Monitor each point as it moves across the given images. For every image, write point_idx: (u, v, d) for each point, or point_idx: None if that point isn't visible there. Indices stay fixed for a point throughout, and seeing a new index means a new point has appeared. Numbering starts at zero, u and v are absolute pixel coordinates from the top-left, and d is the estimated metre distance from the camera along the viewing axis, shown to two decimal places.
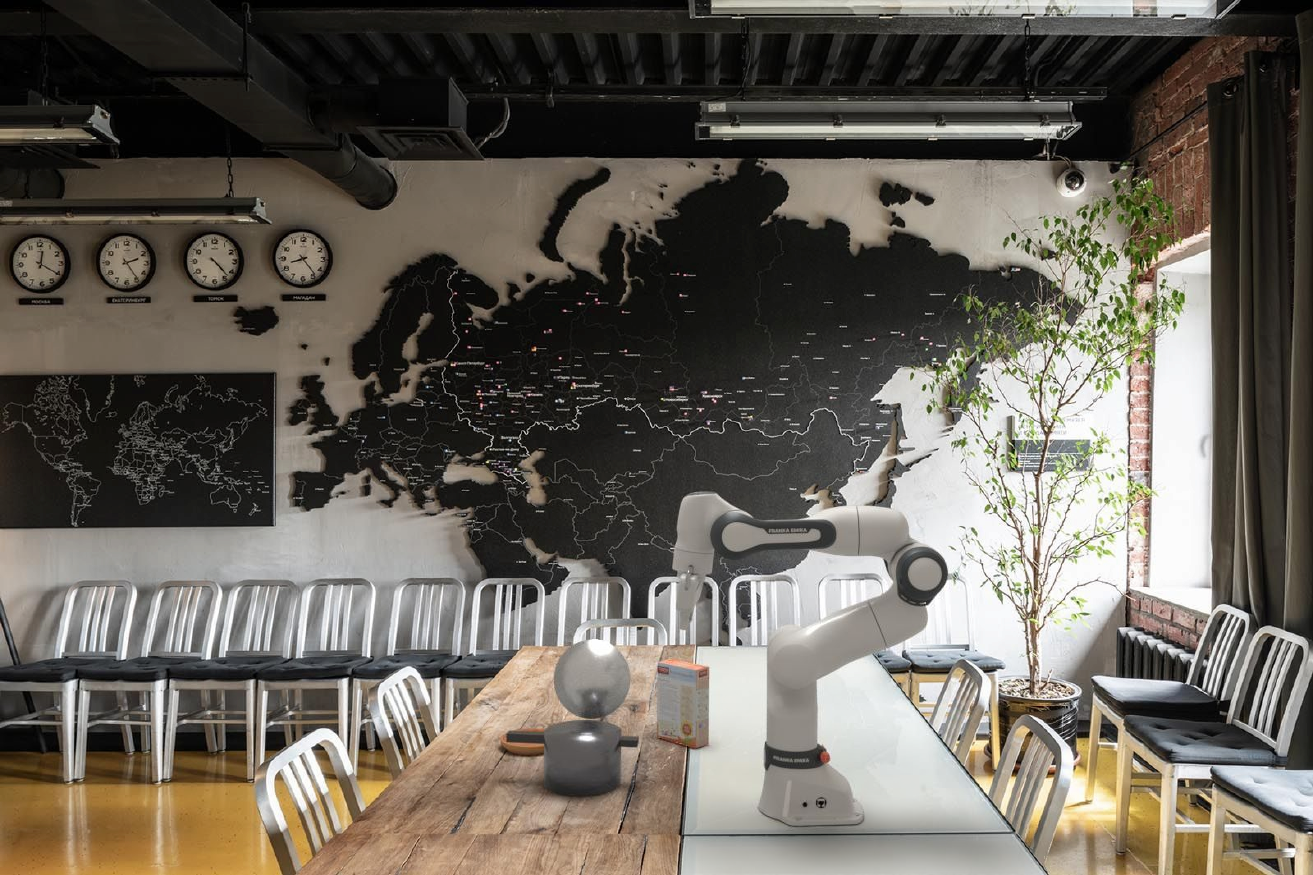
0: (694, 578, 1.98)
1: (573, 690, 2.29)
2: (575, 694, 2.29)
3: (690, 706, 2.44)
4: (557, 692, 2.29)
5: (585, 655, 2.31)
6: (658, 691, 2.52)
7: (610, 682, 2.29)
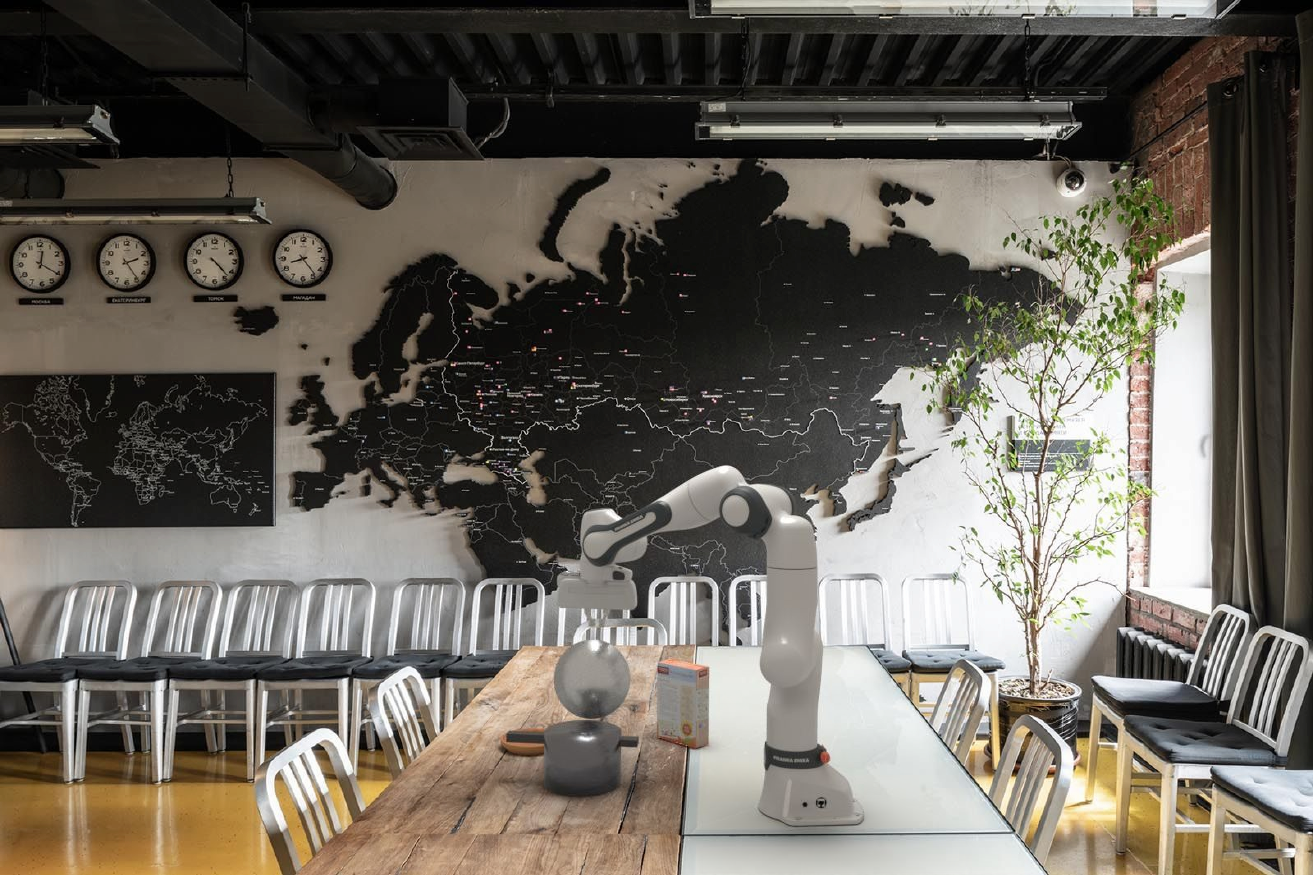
0: (563, 579, 2.36)
1: (573, 690, 2.29)
2: (575, 694, 2.29)
3: (690, 706, 2.44)
4: (557, 692, 2.29)
5: (585, 655, 2.31)
6: (658, 691, 2.52)
7: (610, 682, 2.29)
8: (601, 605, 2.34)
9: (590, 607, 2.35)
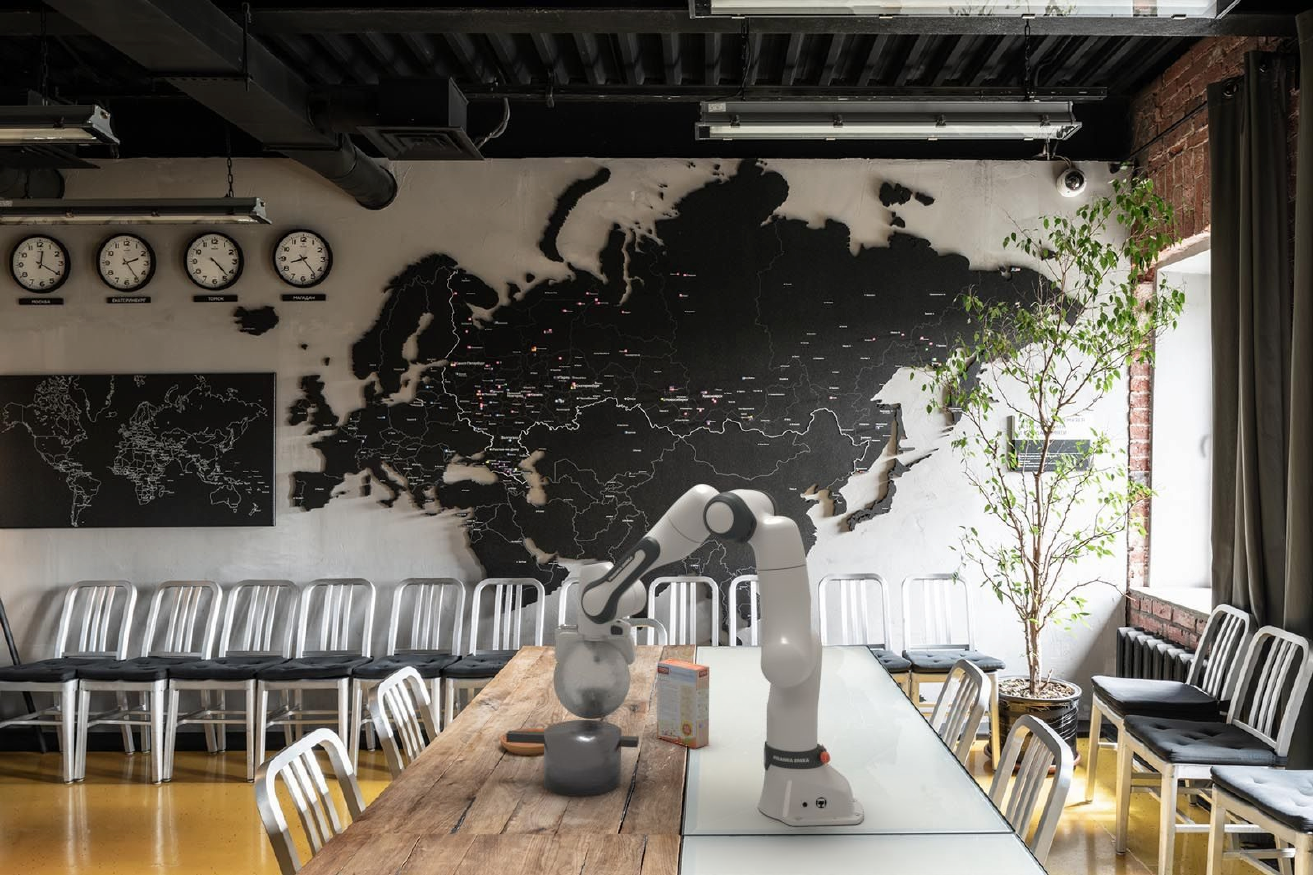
0: (560, 633, 2.33)
1: (573, 690, 2.29)
2: (575, 694, 2.29)
3: (690, 706, 2.44)
4: (557, 692, 2.29)
5: (585, 655, 2.30)
6: (658, 691, 2.52)
7: (610, 682, 2.28)
8: None
9: None
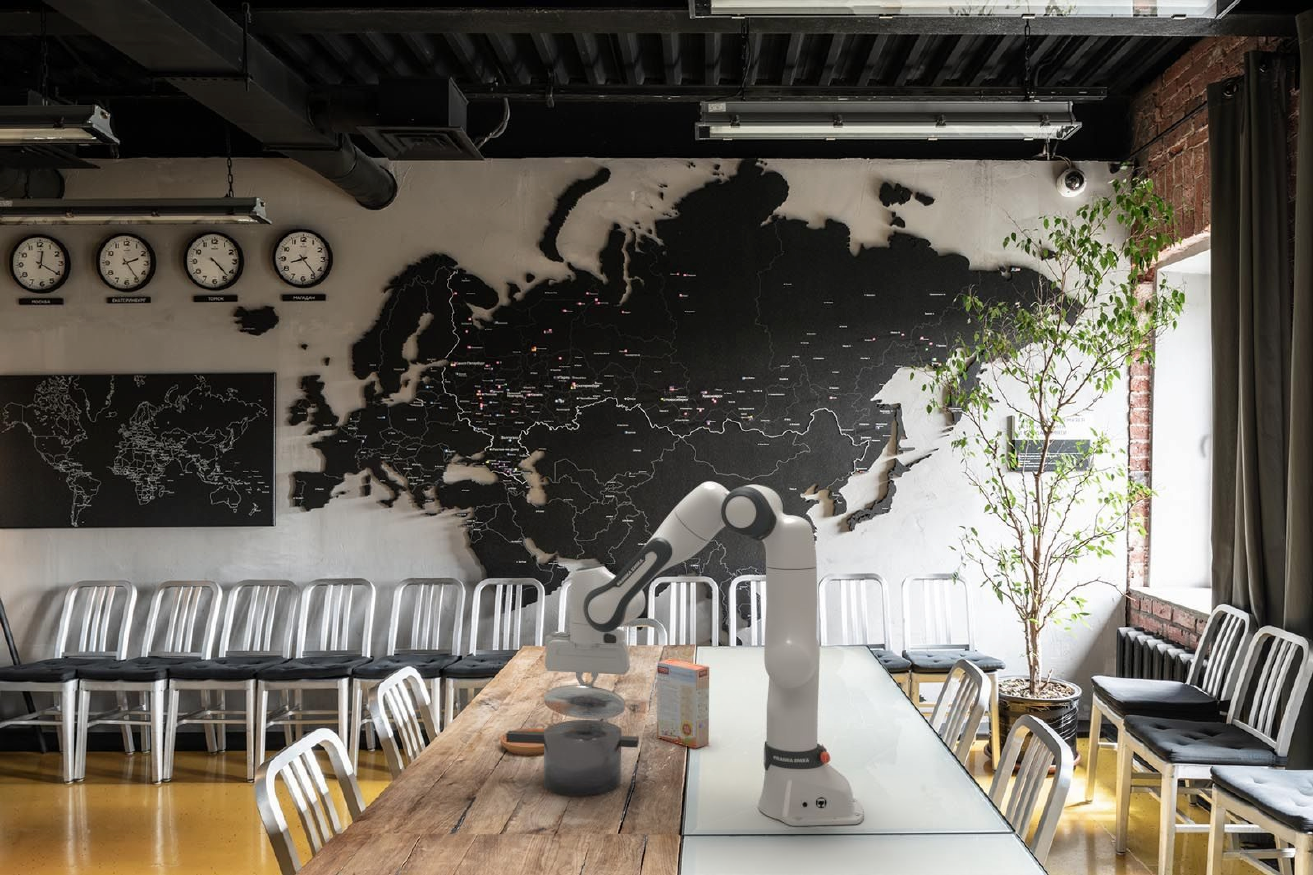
0: (551, 641, 2.22)
1: (568, 708, 2.23)
2: (570, 710, 2.23)
3: (690, 706, 2.44)
4: (552, 709, 2.24)
5: (573, 696, 2.16)
6: (658, 691, 2.52)
7: (604, 706, 2.20)
8: (591, 669, 2.21)
9: (580, 671, 2.21)
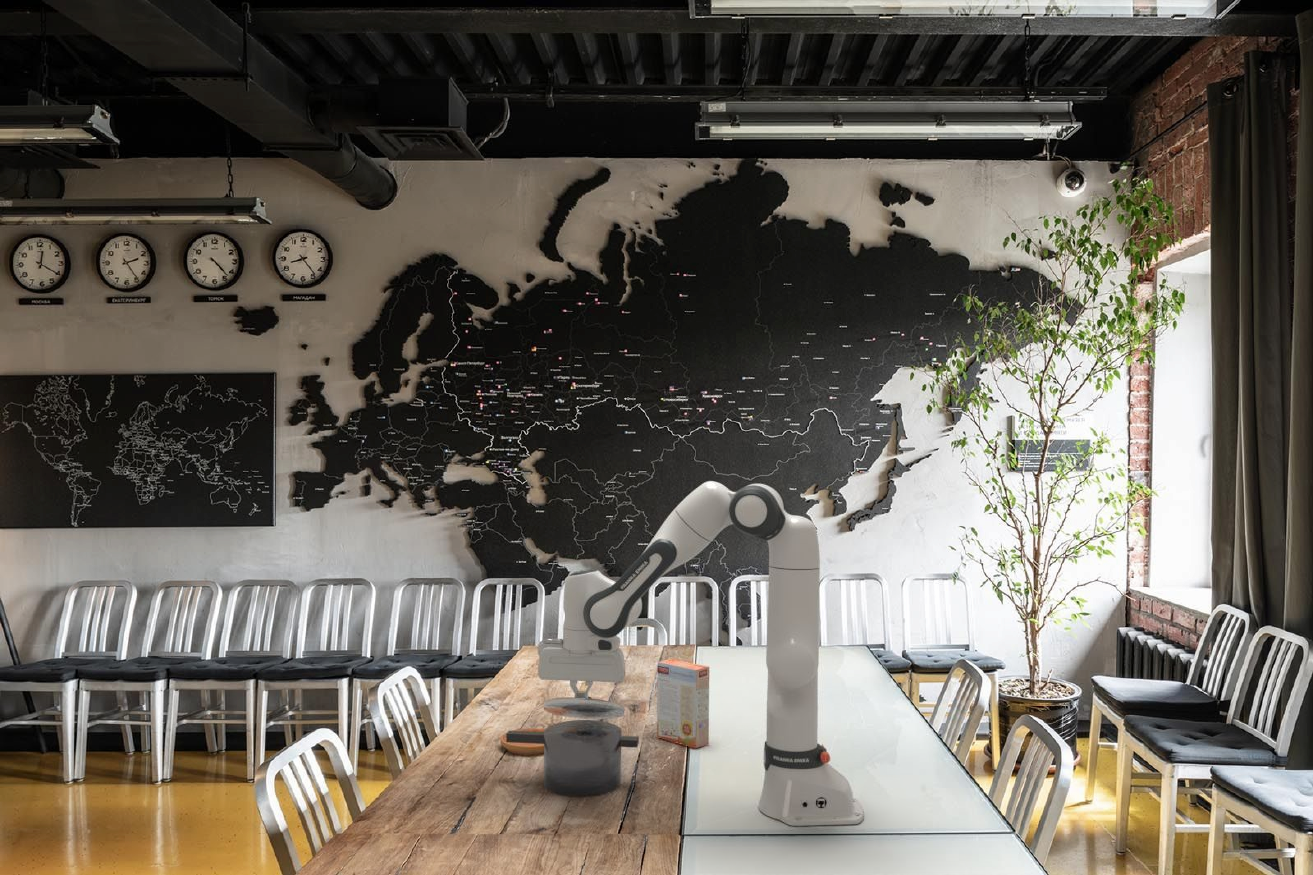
0: (544, 648, 2.15)
1: (567, 713, 2.22)
2: (570, 713, 2.23)
3: (690, 706, 2.44)
4: (551, 712, 2.23)
5: (572, 706, 2.14)
6: (658, 691, 2.52)
7: (604, 712, 2.19)
8: (586, 677, 2.13)
9: (574, 679, 2.14)
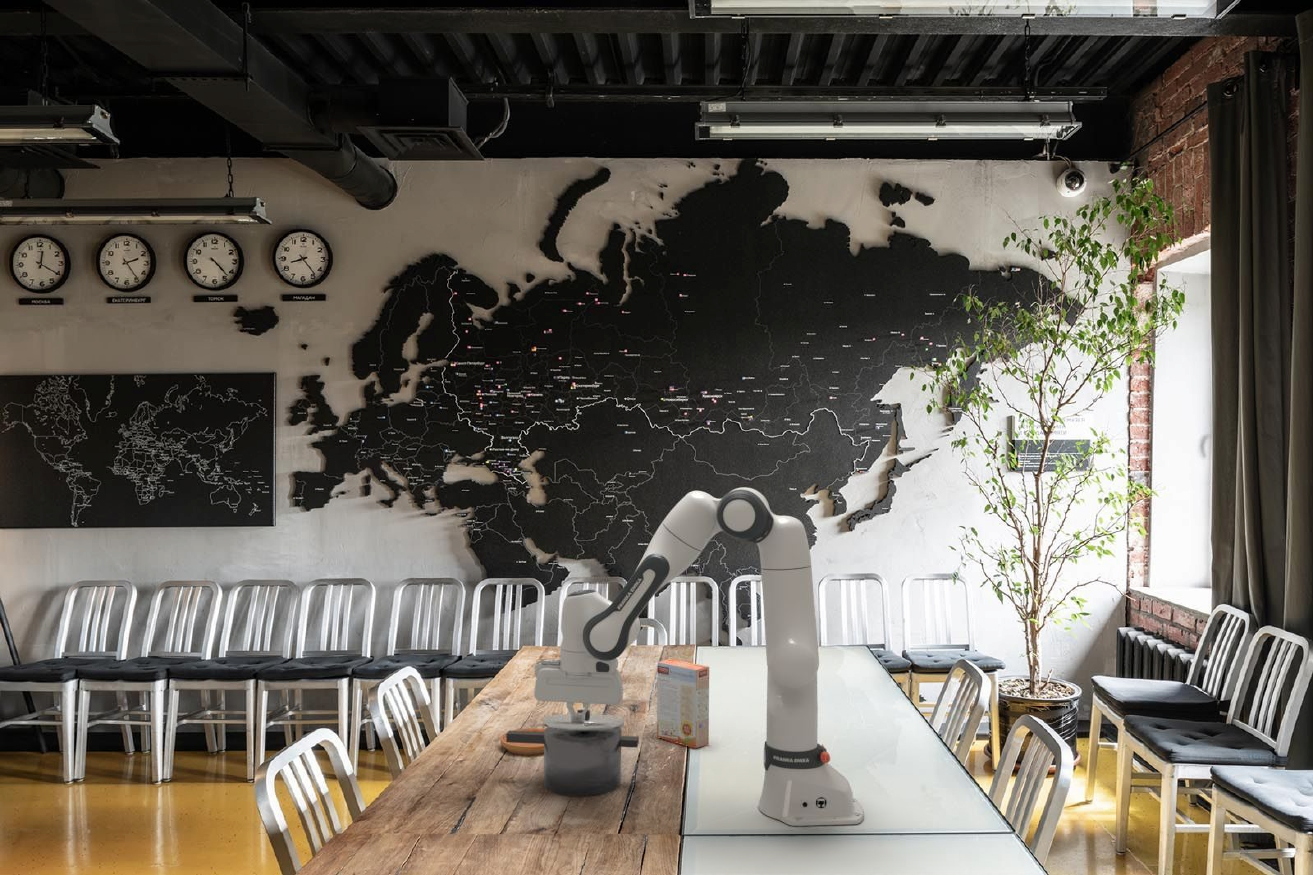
0: (541, 669, 2.13)
1: None
2: None
3: (690, 706, 2.44)
4: None
5: None
6: (658, 691, 2.52)
7: None
8: (583, 699, 2.11)
9: (571, 701, 2.12)
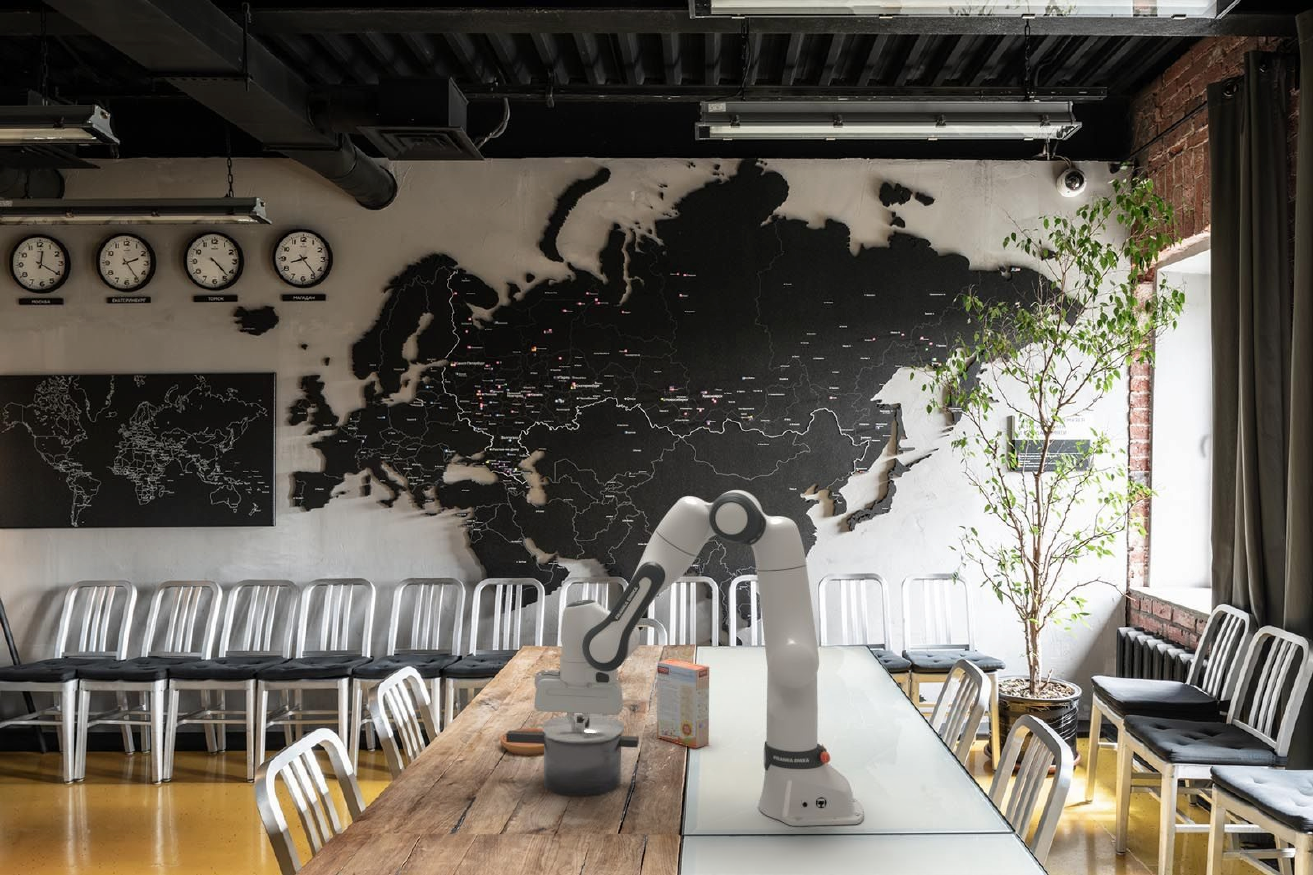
0: (541, 680, 2.13)
1: None
2: None
3: (690, 706, 2.44)
4: None
5: None
6: (658, 691, 2.52)
7: None
8: (583, 709, 2.11)
9: (571, 711, 2.12)
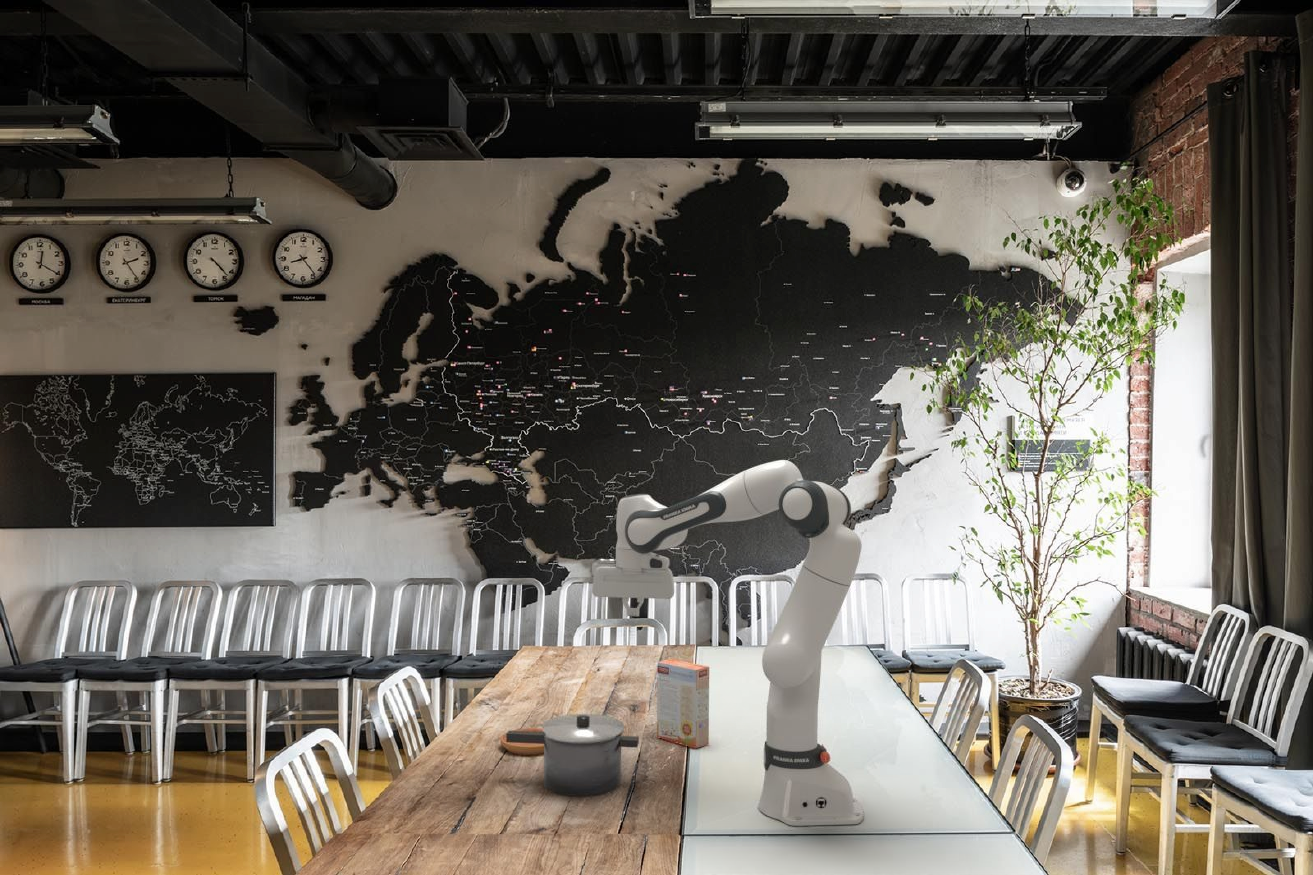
0: (598, 567, 2.29)
1: None
2: None
3: (690, 706, 2.44)
4: None
5: None
6: (658, 691, 2.52)
7: None
8: (637, 594, 2.27)
9: (626, 596, 2.28)
